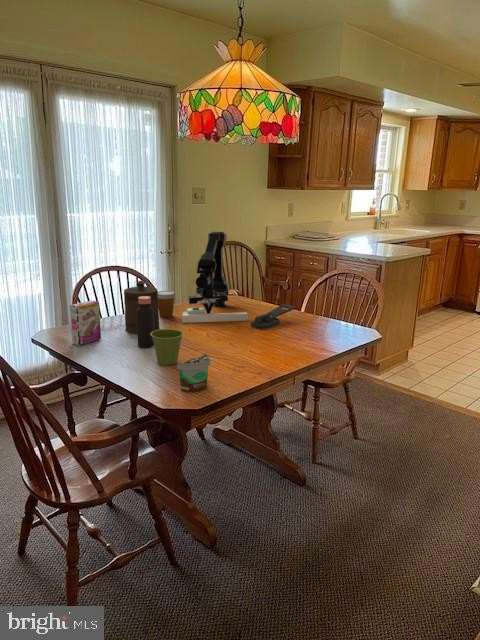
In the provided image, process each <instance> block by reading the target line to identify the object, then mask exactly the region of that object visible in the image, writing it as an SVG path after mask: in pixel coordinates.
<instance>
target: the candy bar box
mask: <svg viewBox="0 0 480 640" xmlns="http://www.w3.org/2000/svg"><path fill="white" fill-rule="evenodd" d="M100 309H101V308H100V302H99V301H97V300H96V301H95V300H92V299H91V300H88V301H83V302H77V303H74V304H70V305H69V313H70V327H71V343H74V344H73V345H75V344H77V345H76V346H78V345H81V346H83V345H82V344H84V345H86V344H85V343H87V344H90V343H89V342H91V343H93V342H92V341H94V342H97V341H100V340H99V339H101V340H102V333H101V331H102V330H101V329H102V327H101V311H100ZM96 340H97V341H96Z"/></svg>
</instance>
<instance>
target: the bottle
mask: <svg viewBox="0 0 480 640" xmlns="http://www.w3.org/2000/svg"><path fill="white" fill-rule="evenodd" d="M138 303H139V307H138V308H137V310H136V316H137V334H136V336H137V347H139V348H142V349H151V348H152V347H155V346H154V342H153V338H152V336H151V335H150V334H151V332H153V331H154V310H153V308H152V307H151V306H150V304H151V297H149V296H141V297H138Z"/></svg>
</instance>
